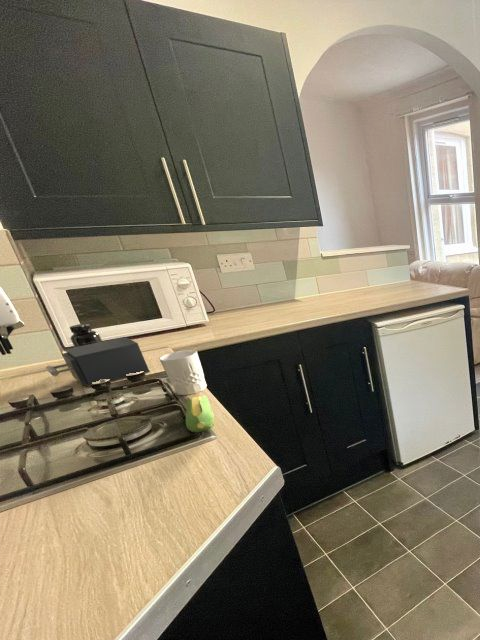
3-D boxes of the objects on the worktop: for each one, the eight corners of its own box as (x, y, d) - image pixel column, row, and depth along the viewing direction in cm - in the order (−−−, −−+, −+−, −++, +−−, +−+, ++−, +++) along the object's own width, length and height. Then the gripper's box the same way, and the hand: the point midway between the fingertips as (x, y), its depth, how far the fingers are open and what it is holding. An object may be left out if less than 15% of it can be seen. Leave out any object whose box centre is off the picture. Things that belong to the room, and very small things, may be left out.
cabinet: (90, 387, 117) (75, 356, 113) (79, 378, 124) (65, 349, 120) (149, 371, 127) (137, 342, 123) (137, 363, 134) (125, 336, 130)
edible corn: (190, 440, 87) (182, 421, 85) (186, 407, 102) (180, 390, 100) (219, 432, 90) (212, 413, 88) (212, 401, 104) (205, 384, 103)
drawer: (60, 391, 113) (47, 366, 110) (52, 382, 119) (39, 358, 116) (138, 370, 125) (128, 347, 122) (127, 363, 131) (117, 341, 128)
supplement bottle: (114, 355, 143) (98, 321, 138) (103, 361, 137) (86, 326, 132) (89, 358, 141) (72, 323, 136) (77, 365, 135) (59, 329, 130)
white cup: (188, 384, 116) (175, 350, 111) (216, 383, 115) (203, 349, 111) (166, 396, 108) (151, 360, 104) (195, 396, 108) (181, 359, 104)
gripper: (11, 275, 108) (44, 343, 115) (-84, 284, 97) (-41, 359, 104) (15, 278, 104) (49, 348, 111) (-83, 288, 93) (-38, 365, 100)
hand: (6, 353), depth 108 cm, fingers closed
